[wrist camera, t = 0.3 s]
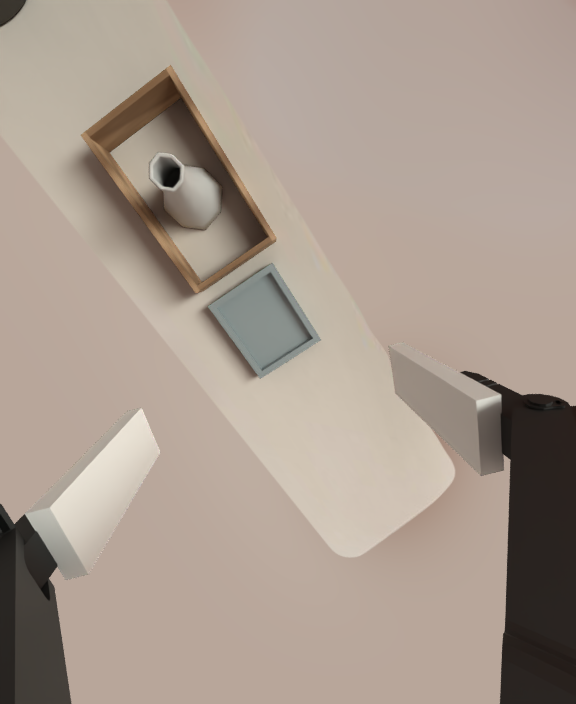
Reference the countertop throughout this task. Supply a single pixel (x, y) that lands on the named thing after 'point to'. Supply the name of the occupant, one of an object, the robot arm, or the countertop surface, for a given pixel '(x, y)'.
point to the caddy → (103, 141)
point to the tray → (265, 321)
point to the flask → (186, 191)
